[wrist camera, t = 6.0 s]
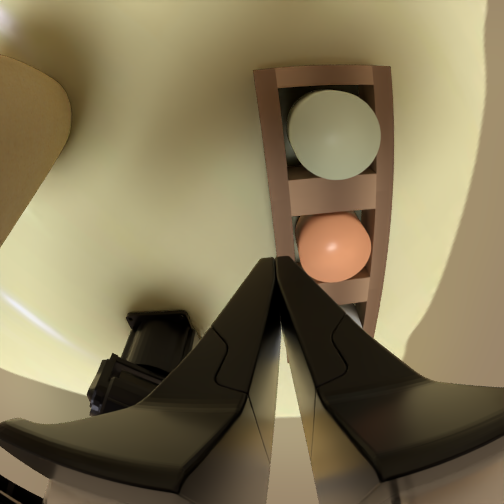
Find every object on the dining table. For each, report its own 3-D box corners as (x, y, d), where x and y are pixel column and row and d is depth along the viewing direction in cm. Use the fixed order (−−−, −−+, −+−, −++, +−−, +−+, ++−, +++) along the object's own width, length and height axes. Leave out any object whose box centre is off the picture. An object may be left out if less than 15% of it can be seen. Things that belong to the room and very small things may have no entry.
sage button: (290, 168, 19) (295, 183, 16) (281, 91, 16) (286, 93, 14) (364, 162, 18) (380, 177, 16) (361, 88, 16) (378, 91, 13)
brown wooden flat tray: (285, 339, 29) (287, 363, 27) (253, 72, 17) (252, 70, 14) (363, 329, 29) (370, 352, 26) (373, 67, 16) (390, 66, 14)
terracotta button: (297, 262, 24) (301, 286, 21) (292, 204, 21) (297, 223, 19) (357, 255, 24) (368, 278, 21) (360, 198, 21) (373, 216, 18)
